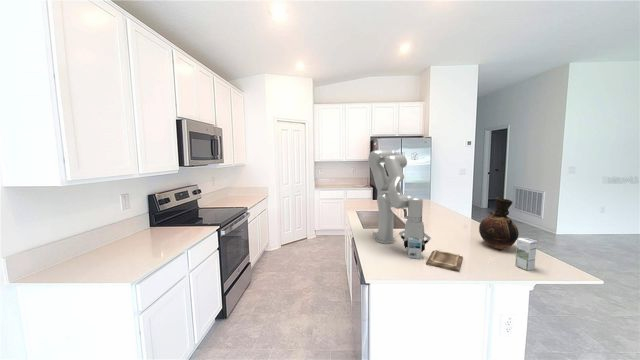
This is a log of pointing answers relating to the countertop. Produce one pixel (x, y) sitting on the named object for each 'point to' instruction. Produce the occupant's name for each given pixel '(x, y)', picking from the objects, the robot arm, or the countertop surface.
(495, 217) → the ceramic vessel
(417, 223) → the robot arm
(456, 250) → the countertop surface
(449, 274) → the countertop surface
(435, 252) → the brown shallow tray
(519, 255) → the syrup box
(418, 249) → the light bulb box
